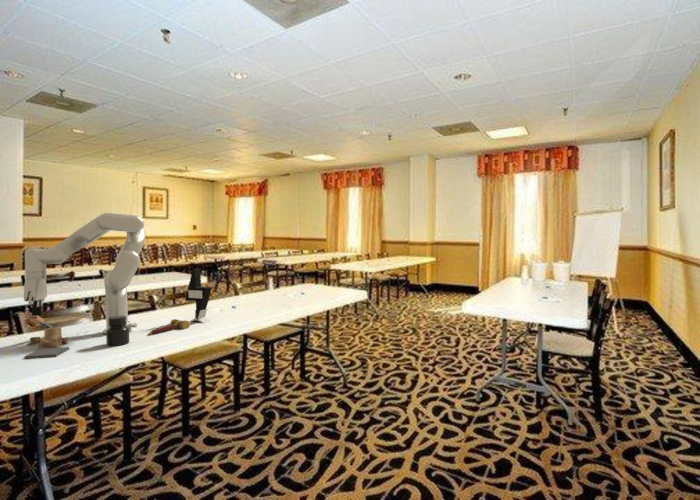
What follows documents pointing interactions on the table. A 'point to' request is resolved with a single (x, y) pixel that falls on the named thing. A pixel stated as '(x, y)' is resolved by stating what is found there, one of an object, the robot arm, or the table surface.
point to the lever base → (36, 341)
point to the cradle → (52, 344)
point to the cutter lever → (40, 321)
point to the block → (53, 335)
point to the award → (198, 296)
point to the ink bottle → (117, 331)
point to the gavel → (171, 326)
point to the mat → (46, 352)
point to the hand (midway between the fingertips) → (36, 315)
